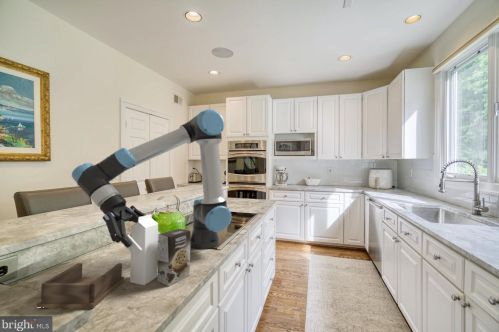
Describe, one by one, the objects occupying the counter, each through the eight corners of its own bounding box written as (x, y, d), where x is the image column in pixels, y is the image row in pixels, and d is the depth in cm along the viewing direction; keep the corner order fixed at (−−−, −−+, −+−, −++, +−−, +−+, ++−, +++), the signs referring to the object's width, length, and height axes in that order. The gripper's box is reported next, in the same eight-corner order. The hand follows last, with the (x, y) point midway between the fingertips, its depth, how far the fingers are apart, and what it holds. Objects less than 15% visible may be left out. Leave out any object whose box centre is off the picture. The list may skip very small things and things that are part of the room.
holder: (124, 280, 73) (124, 262, 74) (92, 308, 58) (93, 285, 59) (79, 280, 73) (79, 261, 73) (36, 308, 58) (37, 285, 58)
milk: (129, 282, 72) (130, 216, 72) (143, 274, 78) (144, 213, 78) (144, 285, 70) (145, 218, 71) (157, 277, 76) (158, 214, 76)
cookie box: (169, 287, 70) (170, 236, 70) (156, 281, 73) (157, 233, 73) (190, 275, 77) (191, 230, 78) (178, 270, 81) (179, 227, 81)
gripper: (125, 202, 88) (160, 240, 87) (70, 215, 63) (118, 269, 62) (137, 189, 88) (173, 228, 86) (87, 197, 63) (136, 251, 61)
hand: (150, 245), depth 74 cm, fingers open, 13 cm apart
